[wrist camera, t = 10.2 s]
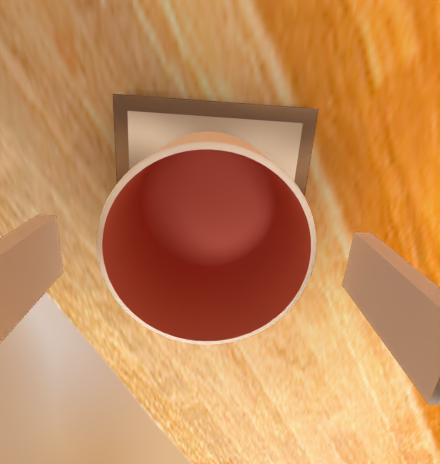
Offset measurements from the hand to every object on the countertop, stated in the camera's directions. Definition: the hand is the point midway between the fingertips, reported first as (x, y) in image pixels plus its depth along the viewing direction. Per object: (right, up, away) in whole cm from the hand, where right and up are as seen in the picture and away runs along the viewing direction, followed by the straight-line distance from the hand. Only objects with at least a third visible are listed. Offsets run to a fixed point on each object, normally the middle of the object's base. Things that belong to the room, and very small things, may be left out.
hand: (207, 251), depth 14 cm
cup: (0, +3, +10) cm, 10 cm away
